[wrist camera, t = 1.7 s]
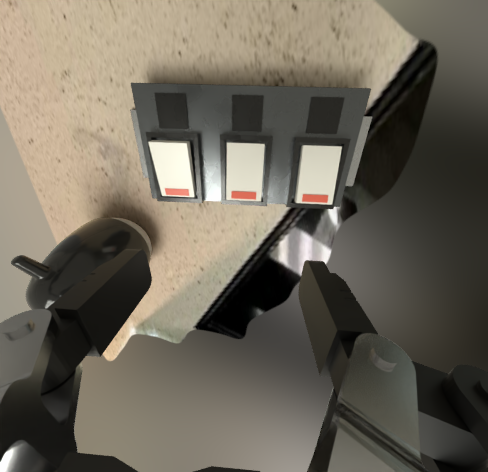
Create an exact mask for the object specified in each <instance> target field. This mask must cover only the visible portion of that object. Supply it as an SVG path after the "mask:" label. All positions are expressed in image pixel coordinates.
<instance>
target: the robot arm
mask: <svg viewBox="0 0 488 472" xmlns="http://www.w3.org/2000/svg"><path fill="white" fill-rule="evenodd" d="M151 281H152V277H151V272H150V268H149V263H148V259H147V254H146V252H145V251H144V250H137V249H125V250H123V251H122V252H121V253H120V254H118V255H117V256H116V257H115V258H114V259H112V260H110V261H108V262H106V263H104V264H102V265H100V266H99V267H97V268H96V269H95V270H94V271H92V272H91V274H90V275H87V276H86V277H85V278H84V279H82V282H79V283H77V284H76V285H75V286H74V287H73V288H71V289H70V290H69V291H68V292H66V293H65V294H64V295H63V296H61V297H60V298H59V299H58V300H56V301H55V302H54V303H53V304H51V305H50V306H49V307H48V308H46V309H34V310H29V311H26V312H23V313H20V314H18V315H15V316H13V317H11V318H9V319H7V320H5V321H3V322H2V323H0V472H138V471H136V470H135V469H133V468H132V467H130V466H128V465H127V464H125V463H123V462H122V461H120V460H119V459H117V458H115V457H113V456H103V455H93V454H83V453H78V452H77V444H76V440H75V435H74V425H75V417H76V410H77V404H78V396H79V389H80V382H81V375H82V365H81V361H82V360H83V359H84V358H85V356H97V357H100V356H101V355H102V354H103V352H104V351H105V350H106V348H107V347H108V345H109V344H110V343H111V341H112V340H113V338H114V337H115V336H116V334H117V333H118V331H119V330H120V329H121V327H122V326H123V325H124V323H125V322H126V320H127V319H128V318H129V316H130V315H131V313H132V312H133V311H134V309H135V308H136V306H137V305H138V304H139V302H140V301H141V299H142V298H143V297H144V295H145V294H146V292H147V291H148V290H149V288H150V285H151ZM299 300H300V304H301V308H302V311H303V315H304V319H305V323H306V327H307V330H308V334H309V338H310V341H311V345H312V349H313V353H314V356H315V360H316V364H317V368H318V371H319V375H320V376H327V377H331V379H332V382H333V386H334V388H333V390H332V393H331V396H330V400H329V403H328V406H327V410H326V413H325V417H324V420H323V424H322V427H321V430H320V434H319V437H318V441H317V444H316V447H315V451H314V454H313V457H312V460H311V463H310V465H309V468H308V470H307V472H488V372H486V371H484V370H482V369H480V368H477V367H473V366H470V365H457V366H456V367H455V368H454V369H453V370H452V371H451V372H450V373H449V374H447V373H444V372H441V371H438V370H436V369H433V368H430V367H427V366H424V365H422V364H419V363H416V362H413V361H411V360H410V358H409V357H408V355H407V354H406V353H405V352H404V351H403V350H402V349H401V348H400V347H399V346H397V345H396V344H395V343H393V342H392V341H390V340H388V339H387V338H385V337H382V336H380V335H378V333H377V331H376V330H375V328H374V327H373V325H372V323H371V322H370V320H369V319H368V317H367V316H366V314H365V312H364V311H363V309H362V308H361V306H360V304H359V303H358V302H357V301H356V298H355V296H354V295H353V293H351V290H350V288H349V287H348V285H347V284H346V282H345V281H344V280H343V279H342V278H340V277H339V276H338V275H337V274H336V273H330V272H329V270H328V268H327V266H326V265H325V263H324V262H323V261H309V260H306V261H305V263H304V266H303V271H302V276H301V280H300V285H299ZM421 461H422V462H421ZM422 463H423V464H422ZM423 465H424V466H423ZM424 467H425V468H424ZM194 472H260V471H252V470H243V469H233V468H223V467H213V466H211V467H208V468H205V469H201V470H198V471H194Z"/></svg>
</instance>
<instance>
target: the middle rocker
mask: <svg viewBox="0 0 488 472" xmlns="http://www.w3.org/2000/svg"><path fill="white" fill-rule="evenodd" d="M264 148H265V144H253V143H227V179H226V200H240V201H261V195H262V179H263V164H264Z"/></svg>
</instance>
